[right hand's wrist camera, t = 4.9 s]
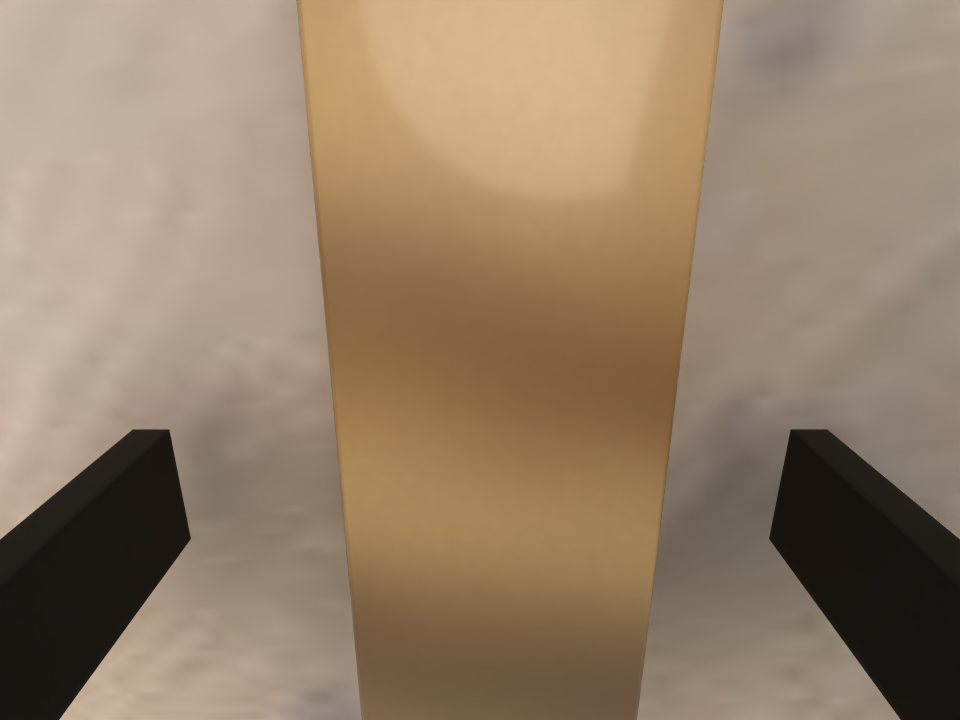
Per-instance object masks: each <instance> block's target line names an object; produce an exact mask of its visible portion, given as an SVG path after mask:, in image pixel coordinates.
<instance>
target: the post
mask: <svg viewBox="0 0 960 720" xmlns="http://www.w3.org/2000/svg"><path fill="white" fill-rule="evenodd" d="M723 2H724V0H297V10H298V21H299V32H300V43H301V54H302V65H303V76H304V87H305V98H306V109H307V120H308V131H309V143H310V154H311V165H312V176H313V187H314V198H315V209H316V220H317V231H318V242H319V253H320V264H321V275H322V286H323V297H324V308H325V319H326V330H327V341H328V352H329V363H330V374H331V385H332V396H333V407H334V418H335V429H336V440H337V451H338V462H339V473H340V484H341V495H342V506H343V517H344V528H345V539H346V550H347V561H348V572H349V583H350V594H351V605H352V616H353V627H354V638H355V649H356V660H357V672H358V683H359V694H360V705H361V716H362V720H637V714H638V706H639V698H640V690H641V681H642V673H643V665H644V656H645V648H646V640H647V632H648V623H649V615H650V607H651V598H652V590H653V582H654V574H655V565H656V557H657V549H658V541H659V532H660V524H661V516H662V507H663V499H664V491H665V483H666V474H667V466H668V458H669V449H670V441H671V433H672V425H673V416H674V408H675V400H676V391H677V383H678V375H679V367H680V358H681V350H682V342H683V333H684V325H685V317H686V309H687V300H688V292H689V284H690V275H691V267H692V259H693V251H694V242H695V234H696V226H697V218H698V209H699V201H700V193H701V184H702V176H703V168H704V160H705V151H706V143H707V135H708V126H709V118H710V110H711V102H712V93H713V85H714V77H715V68H716V60H717V52H718V44H719V35H720V27H721V19H722V10H723Z"/></svg>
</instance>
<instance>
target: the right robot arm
mask: <svg viewBox="0 0 960 720" xmlns="http://www.w3.org/2000/svg"><path fill="white" fill-rule="evenodd" d="M190 539H191V537H190V532H189V527H188V522H187V517H186V512H185V507H184V502H183V497H182V492H181V487H180V482H179V477H178V471H177V466H176V461H175V456H174V451H173V446H172V441H171V436H170V431H169V430H132V431H131V432H129V433H128V434H127V435H126V436H125V437H123V438H122V439H121V440H120V441H119V442H117V443H116V444H115V445H114V446H113V447H111V448H110V449H109V450H108V451H106V452H105V453H104V454H103V455H102V456H100V457H99V458H98V459H97V460H96V461H94V462H93V463H92V464H91V465H90V466H88V467H87V468H86V469H85V470H84V471H82V472H81V473H80V474H79V475H78V476H76V477H75V478H74V479H73V480H71V481H70V482H69V483H68V484H67V485H65V486H64V487H63V488H62V489H61V490H59V491H58V492H57V493H56V494H55V495H53V496H52V497H51V498H50V499H49V500H47V501H46V502H45V503H44V504H43V505H41V506H40V507H39V508H38V509H37V510H35V511H34V512H33V513H32V514H30V515H29V516H28V517H27V518H26V519H24V520H23V521H22V522H21V523H20V524H18V525H17V526H16V527H15V528H14V529H12V530H11V531H10V532H9V533H8V534H6V535H5V536H4V537H3V538H2V539H0V720H59V719H60V718H61V716H62V715H63V714H64V712H65V711H66V710H67V708H68V707H69V705H70V704H71V703H72V701H73V700H74V699H75V697H76V696H77V694H78V693H79V692H80V690H81V689H82V688H83V686H84V685H85V683H86V682H87V681H88V679H89V678H90V677H91V675H92V674H93V672H94V671H95V670H96V668H97V667H98V666H99V664H100V663H101V662H102V660H103V659H104V657H105V656H106V655H107V653H108V652H109V651H110V649H111V648H112V646H113V645H114V644H115V642H116V641H117V640H118V638H119V637H120V635H121V634H122V633H123V631H124V630H125V629H126V627H127V626H128V624H129V623H130V622H131V620H132V619H133V618H134V616H135V615H136V613H137V612H138V611H139V609H140V608H141V607H142V605H143V604H144V602H145V601H146V600H147V598H148V597H149V596H150V594H151V593H152V591H153V590H154V589H155V587H156V586H157V585H158V583H159V582H160V580H161V579H162V578H163V576H164V575H165V574H166V572H167V571H168V570H169V568H170V567H171V565H172V564H173V563H174V561H175V560H176V559H177V557H178V556H179V554H180V553H181V552H182V550H183V549H184V548H185V546H186V545H187V543H188V542H189V541H190ZM769 539H770V541H771V542H772V543H773V545H774V546H775V548H776V549H777V550H778V552H779V553H780V554H781V556H782V557H783V559H784V560H785V561H786V563H787V564H788V565H789V567H790V568H791V570H792V571H793V572H794V574H795V575H796V576H797V578H798V579H799V580H800V582H801V583H802V585H803V586H804V587H805V589H806V590H807V591H808V593H809V594H810V596H811V597H812V598H813V600H814V601H815V602H816V604H817V605H818V607H819V608H820V609H821V611H822V612H823V613H824V615H825V616H826V618H827V619H828V620H829V622H830V623H831V624H832V626H833V627H834V629H835V630H836V631H837V633H838V634H839V635H840V637H841V638H842V640H843V641H844V642H845V644H846V645H847V646H848V648H849V649H850V651H851V652H852V653H853V655H854V656H855V657H856V659H857V660H858V662H859V663H860V664H861V666H862V667H863V668H864V670H865V671H866V672H867V674H868V675H869V677H870V678H871V679H872V681H873V682H874V683H875V685H876V686H877V688H878V689H879V690H880V692H881V693H882V694H883V696H884V697H885V699H886V700H887V701H888V703H889V704H890V705H891V707H892V708H893V710H894V711H895V712H896V714H897V715H898V716H899V718H900V719H901V720H960V539H958V538H957V537H956V536H955V535H954V534H952V533H951V532H950V531H949V530H948V529H946V528H945V527H944V526H943V525H942V524H940V523H939V522H938V521H937V520H936V519H934V518H933V517H932V516H931V515H930V514H928V513H927V512H926V511H925V510H923V509H922V508H921V507H920V506H919V505H917V504H916V503H915V502H914V501H913V500H911V499H910V498H909V497H908V496H907V495H905V494H904V493H903V492H902V491H901V490H899V489H898V488H897V487H896V486H895V485H893V484H892V483H891V482H890V481H889V480H887V479H886V478H885V477H884V476H882V475H881V474H880V473H879V472H878V471H876V470H875V469H874V468H873V467H872V466H870V465H869V464H868V463H867V462H866V461H864V460H863V459H862V458H861V457H860V456H858V455H857V454H856V453H855V452H854V451H852V450H851V449H850V448H849V447H847V446H846V445H845V444H844V443H843V442H841V441H840V440H839V439H838V438H837V437H835V436H834V435H833V434H832V433H831V432H829V431H828V430H791V431H790V436H789V441H788V446H787V451H786V456H785V461H784V466H783V471H782V477H781V482H780V487H779V492H778V497H777V502H776V507H775V512H774V517H773V522H772V527H771V532H770V537H769Z"/></svg>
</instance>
